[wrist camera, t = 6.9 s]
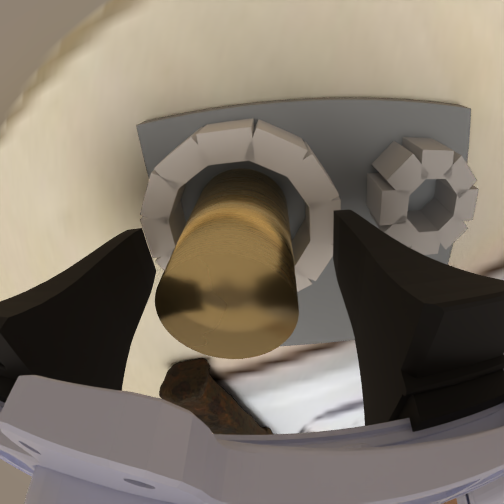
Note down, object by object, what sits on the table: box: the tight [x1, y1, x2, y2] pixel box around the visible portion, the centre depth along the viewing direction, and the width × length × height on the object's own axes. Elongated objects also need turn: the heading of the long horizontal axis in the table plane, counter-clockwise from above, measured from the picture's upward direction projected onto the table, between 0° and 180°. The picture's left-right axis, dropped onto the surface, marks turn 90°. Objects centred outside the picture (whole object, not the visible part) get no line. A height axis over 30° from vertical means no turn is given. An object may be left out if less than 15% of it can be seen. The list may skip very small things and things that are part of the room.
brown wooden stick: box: [159, 358, 273, 435], centre depth 25 cm, size 19×4×5 cm, turn 22°
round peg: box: [155, 168, 299, 359], centre depth 11 cm, size 4×4×6 cm
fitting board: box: [137, 98, 478, 346], centre depth 14 cm, size 15×14×3 cm
